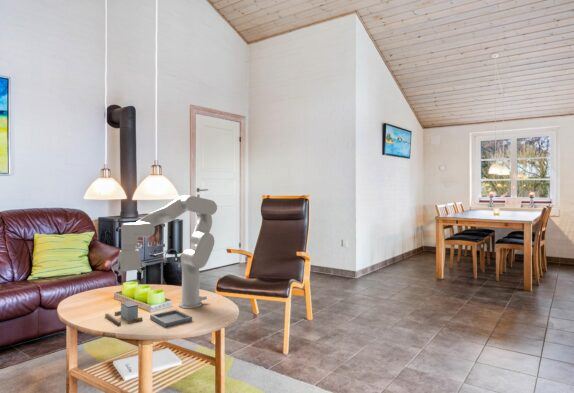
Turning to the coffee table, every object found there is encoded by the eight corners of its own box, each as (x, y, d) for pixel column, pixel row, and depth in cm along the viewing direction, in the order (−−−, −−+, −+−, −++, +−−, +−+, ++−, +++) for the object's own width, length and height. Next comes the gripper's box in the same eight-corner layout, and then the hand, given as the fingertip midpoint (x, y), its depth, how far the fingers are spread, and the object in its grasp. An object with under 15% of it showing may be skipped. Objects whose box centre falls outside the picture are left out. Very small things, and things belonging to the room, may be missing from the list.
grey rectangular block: (130, 314, 209) (130, 301, 209) (137, 318, 203) (137, 304, 203) (120, 316, 206) (120, 302, 206) (127, 320, 199) (128, 306, 199)
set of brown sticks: (128, 312, 213) (128, 309, 213) (142, 320, 200) (142, 317, 200) (105, 316, 205) (105, 313, 205) (118, 325, 192) (118, 322, 192)
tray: (176, 313, 212) (176, 309, 212) (192, 321, 201) (192, 317, 200) (150, 318, 203) (150, 314, 203) (165, 327, 191) (165, 323, 191)
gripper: (143, 245, 212) (142, 277, 212) (109, 248, 200) (108, 282, 201) (149, 247, 207) (149, 280, 207) (114, 250, 195) (114, 285, 195)
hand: (129, 281), depth 204 cm, fingers open, 9 cm apart
